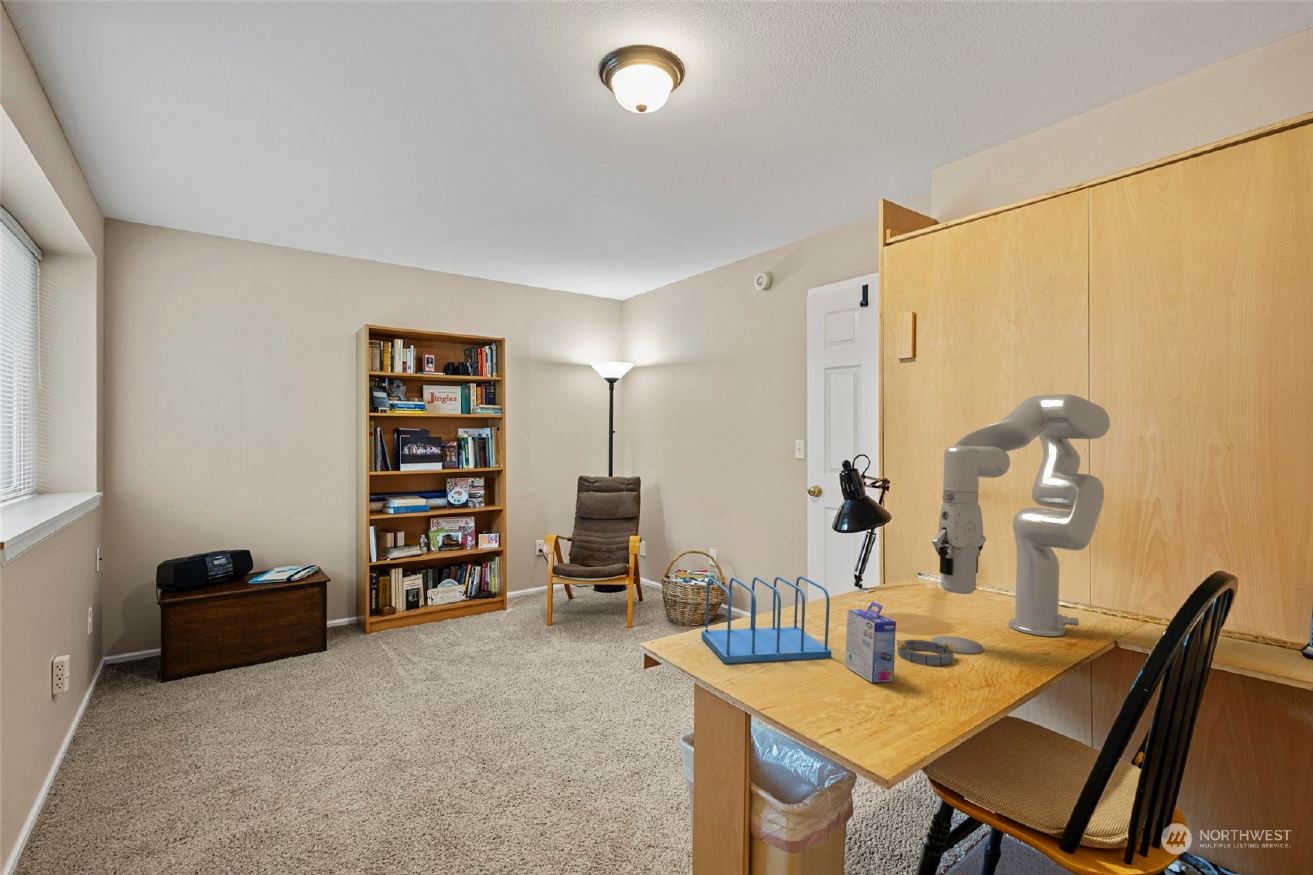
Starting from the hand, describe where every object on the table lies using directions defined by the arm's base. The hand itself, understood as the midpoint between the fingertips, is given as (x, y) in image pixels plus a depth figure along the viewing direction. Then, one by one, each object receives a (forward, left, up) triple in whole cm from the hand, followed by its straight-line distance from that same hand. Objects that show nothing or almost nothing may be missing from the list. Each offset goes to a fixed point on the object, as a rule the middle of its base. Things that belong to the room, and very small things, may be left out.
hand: (958, 572), depth 147 cm
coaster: (0, 0, -17) cm, 17 cm away
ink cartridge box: (+25, +22, -18) cm, 38 cm away
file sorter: (+46, +9, -18) cm, 50 cm away
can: (0, 0, -5) cm, 5 cm away
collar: (+10, +9, -17) cm, 22 cm away
